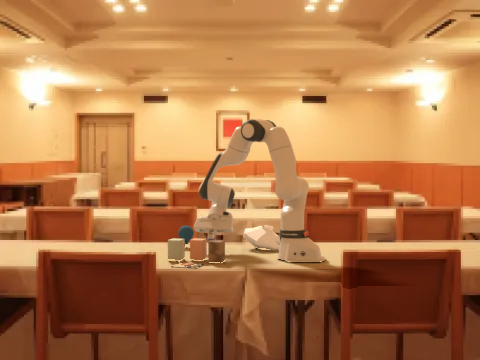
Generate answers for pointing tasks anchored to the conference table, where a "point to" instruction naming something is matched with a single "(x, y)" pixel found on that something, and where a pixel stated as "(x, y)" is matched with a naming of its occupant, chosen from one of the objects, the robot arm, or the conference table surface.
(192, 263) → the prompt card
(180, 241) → the sage block
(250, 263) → the conference table surface
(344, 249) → the conference table surface
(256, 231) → the paper
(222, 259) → the walnut block
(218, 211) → the robot arm
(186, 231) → the light bulb
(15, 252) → the conference table surface
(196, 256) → the terracotta block
